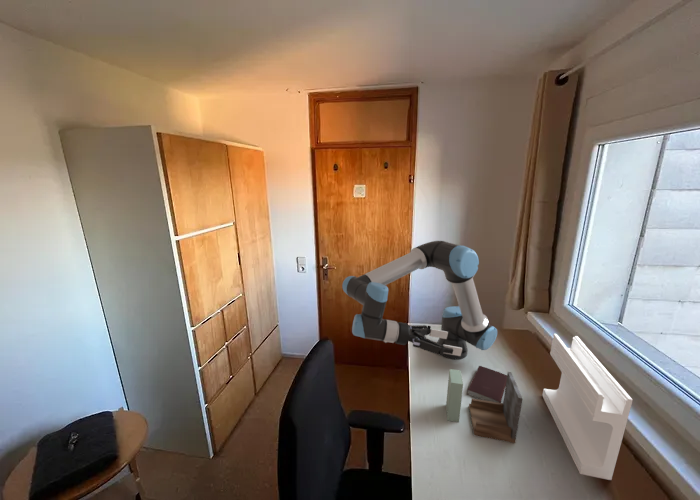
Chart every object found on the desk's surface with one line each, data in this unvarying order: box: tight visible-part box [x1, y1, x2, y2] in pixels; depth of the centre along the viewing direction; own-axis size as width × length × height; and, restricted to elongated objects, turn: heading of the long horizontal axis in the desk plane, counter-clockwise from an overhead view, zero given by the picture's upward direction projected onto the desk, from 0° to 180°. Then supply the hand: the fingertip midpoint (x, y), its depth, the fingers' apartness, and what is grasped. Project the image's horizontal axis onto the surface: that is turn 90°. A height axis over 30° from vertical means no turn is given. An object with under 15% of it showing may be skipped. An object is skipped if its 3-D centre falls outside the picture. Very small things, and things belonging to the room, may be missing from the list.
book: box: [466, 365, 507, 403], centre depth 132 cm, size 12×19×3 cm, turn 145°
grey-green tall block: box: [445, 368, 464, 423], centre depth 116 cm, size 8×4×16 cm, turn 167°
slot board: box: [468, 371, 524, 444], centre depth 111 cm, size 14×13×18 cm
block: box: [542, 333, 634, 481], centre depth 107 cm, size 35×8×28 cm, turn 166°
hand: (453, 343), depth 112 cm, fingers open, 13 cm apart
